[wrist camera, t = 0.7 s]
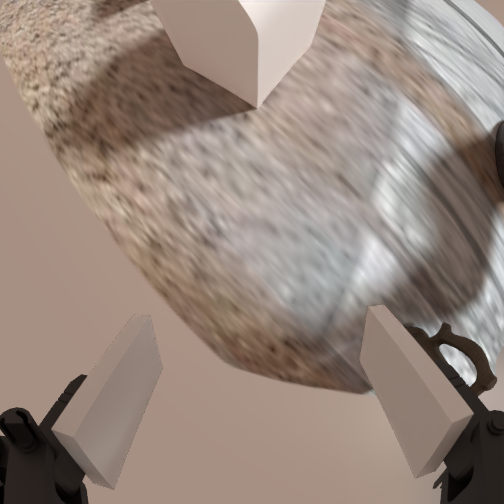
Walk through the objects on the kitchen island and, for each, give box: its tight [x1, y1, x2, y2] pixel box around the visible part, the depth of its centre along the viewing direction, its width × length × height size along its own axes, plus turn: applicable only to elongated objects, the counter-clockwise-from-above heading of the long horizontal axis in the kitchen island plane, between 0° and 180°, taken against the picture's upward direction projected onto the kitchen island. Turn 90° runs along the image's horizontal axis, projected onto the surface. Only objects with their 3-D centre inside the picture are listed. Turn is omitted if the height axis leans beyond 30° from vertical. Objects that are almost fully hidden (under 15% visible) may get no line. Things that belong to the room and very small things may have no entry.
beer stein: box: [405, 322, 497, 397], centre depth 31 cm, size 15×11×20 cm
